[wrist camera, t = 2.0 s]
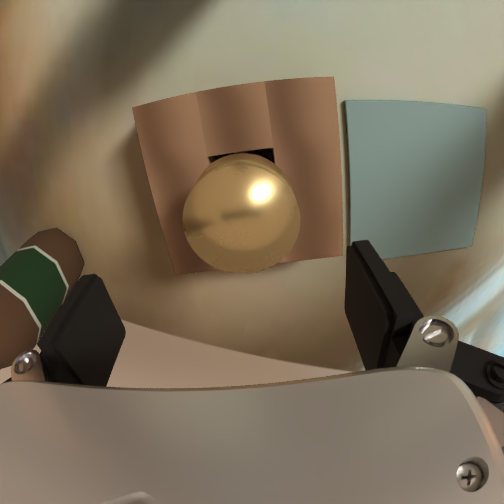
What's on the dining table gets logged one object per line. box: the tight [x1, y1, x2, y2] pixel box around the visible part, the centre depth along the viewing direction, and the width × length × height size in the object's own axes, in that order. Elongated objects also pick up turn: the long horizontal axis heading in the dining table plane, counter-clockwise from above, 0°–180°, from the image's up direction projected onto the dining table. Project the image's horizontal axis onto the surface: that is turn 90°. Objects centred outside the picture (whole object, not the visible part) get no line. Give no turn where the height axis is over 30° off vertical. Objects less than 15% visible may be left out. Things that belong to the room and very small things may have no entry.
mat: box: [344, 100, 486, 259], centre depth 26 cm, size 16×16×1 cm
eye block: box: [132, 77, 343, 274], centre depth 24 cm, size 14×14×5 cm
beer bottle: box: [0, 228, 84, 369], centre depth 20 cm, size 8×8×24 cm
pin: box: [182, 150, 300, 274], centre depth 21 cm, size 6×6×12 cm
